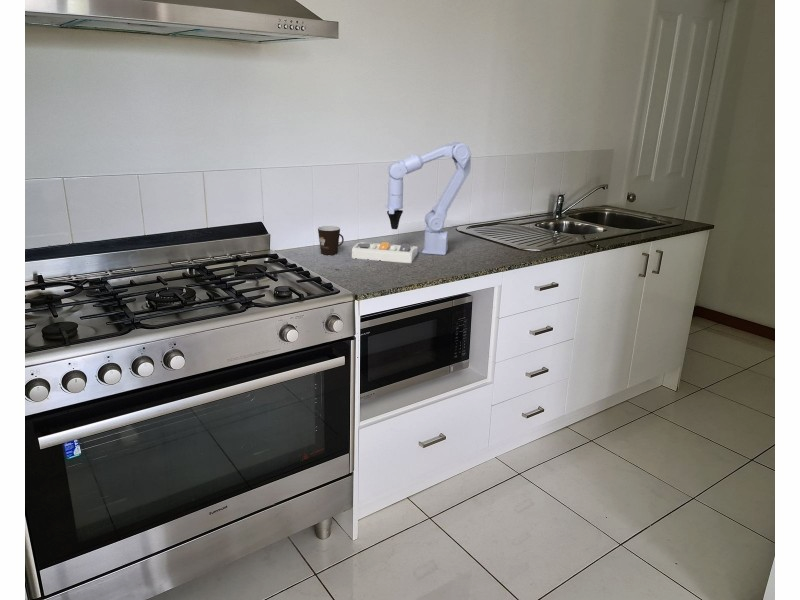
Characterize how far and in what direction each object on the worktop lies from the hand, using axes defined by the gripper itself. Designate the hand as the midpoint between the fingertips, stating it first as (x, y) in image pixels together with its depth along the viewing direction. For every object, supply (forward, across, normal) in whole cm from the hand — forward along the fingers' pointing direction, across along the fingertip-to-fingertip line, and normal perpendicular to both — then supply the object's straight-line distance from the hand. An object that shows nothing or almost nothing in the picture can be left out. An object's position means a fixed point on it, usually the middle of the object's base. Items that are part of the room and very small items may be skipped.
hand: (394, 228), depth 227 cm
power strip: (+9, +7, -2) cm, 12 cm away
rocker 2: (+6, +9, +6) cm, 13 cm away
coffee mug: (+10, +11, -23) cm, 27 cm away
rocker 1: (+6, +10, -10) cm, 15 cm away
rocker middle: (+6, +9, -2) cm, 11 cm away
